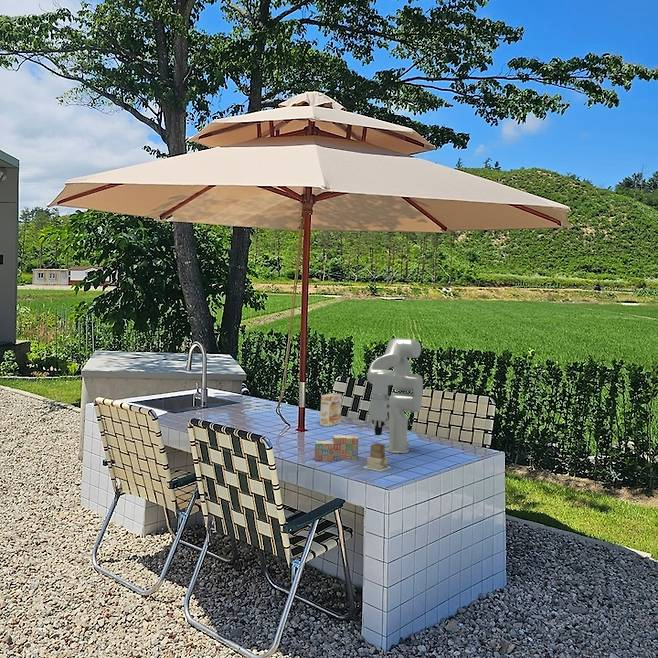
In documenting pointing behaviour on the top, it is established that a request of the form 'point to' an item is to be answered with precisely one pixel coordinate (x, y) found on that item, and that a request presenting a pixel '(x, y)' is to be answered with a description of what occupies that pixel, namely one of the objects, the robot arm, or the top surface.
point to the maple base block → (377, 463)
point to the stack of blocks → (337, 449)
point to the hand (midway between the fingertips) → (378, 434)
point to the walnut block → (377, 451)
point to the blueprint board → (376, 469)
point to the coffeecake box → (330, 409)
